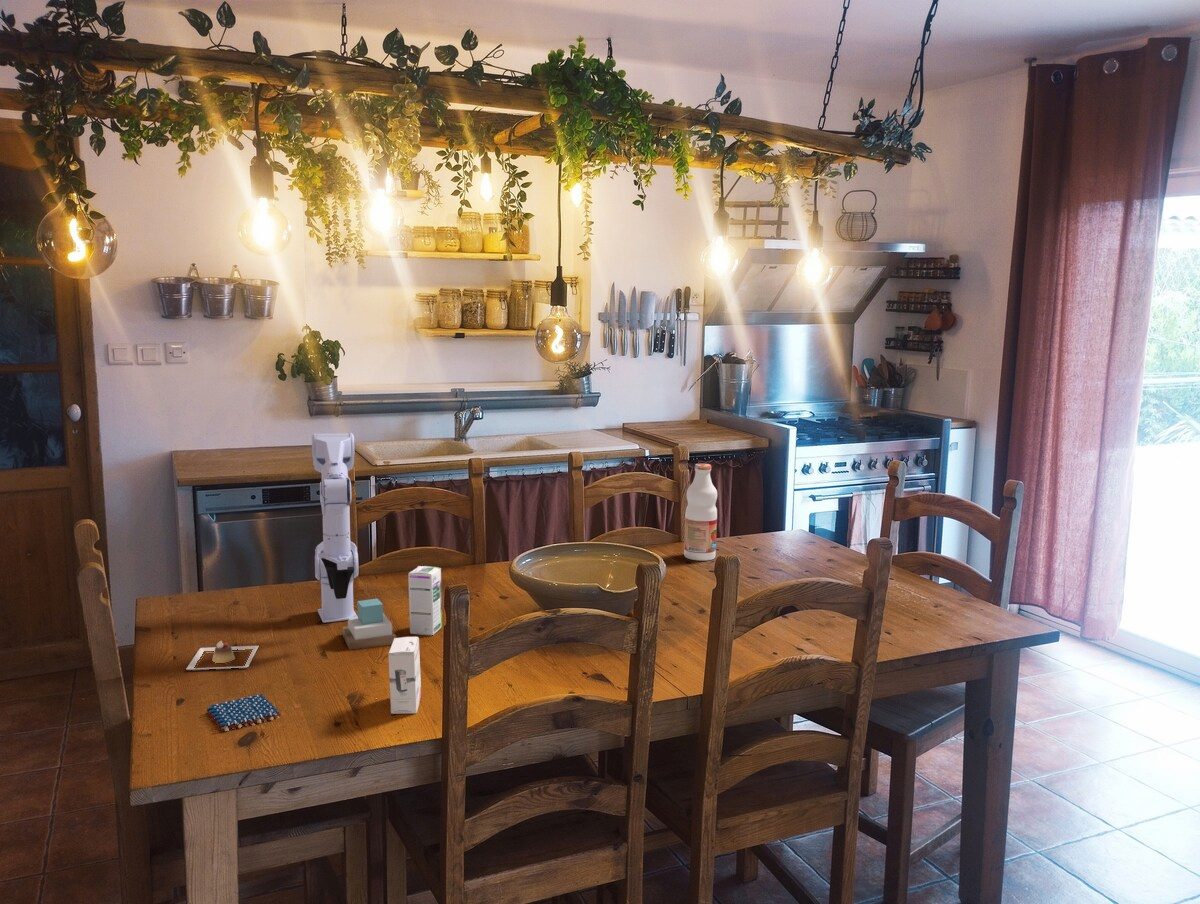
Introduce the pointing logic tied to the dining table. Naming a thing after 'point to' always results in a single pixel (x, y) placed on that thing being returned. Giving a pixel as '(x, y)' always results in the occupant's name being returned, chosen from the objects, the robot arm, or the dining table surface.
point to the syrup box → (425, 600)
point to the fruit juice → (701, 516)
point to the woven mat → (242, 712)
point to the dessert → (221, 655)
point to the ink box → (404, 675)
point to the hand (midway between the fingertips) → (338, 593)
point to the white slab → (369, 628)
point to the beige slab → (366, 640)
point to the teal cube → (370, 611)
